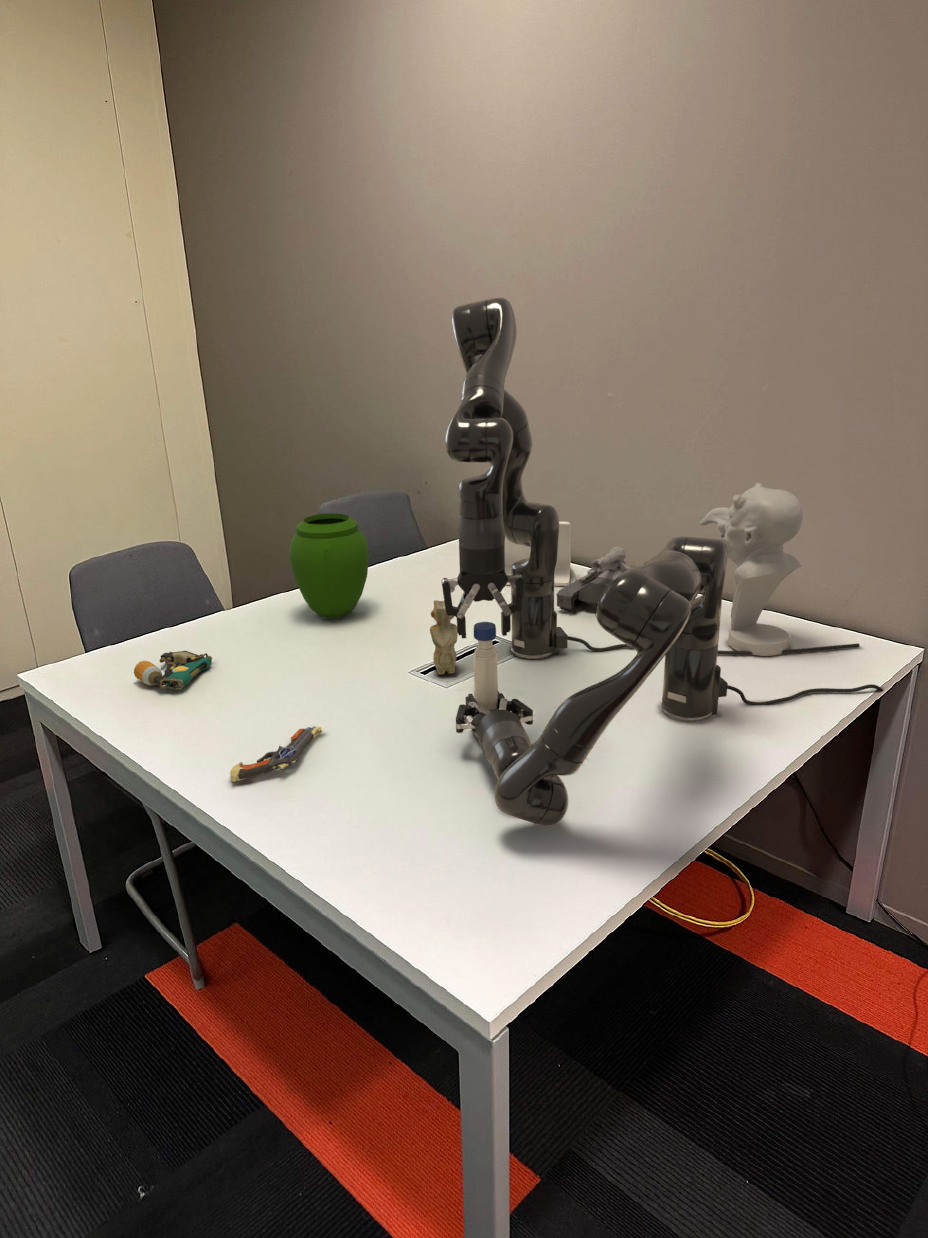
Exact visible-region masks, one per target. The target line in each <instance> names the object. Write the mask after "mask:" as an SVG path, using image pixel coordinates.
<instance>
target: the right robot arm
mask: <svg viewBox="0 0 928 1238" xmlns="http://www.w3.org/2000/svg"><path fill="white" fill-rule="evenodd" d="M727 565H728V557H727V547H726V544H725V543H724V541H722V540H719V538H708V537H706V538H705V537H697V536H675V537H672V538H671V539H669V540H668V541H667V543H666V544H665V545H664V547H662V549H661V551H660V552H659V553H658V554H657V555H655V556H653V557H651V558H650V559H648V560H647V561H646V562H645V563H643V564H642V565H639V566H636V567H634V568H631V569H628V570H627V571H625V572H623V573H622V574H620V575H619V576H618V577H617V578H615V579H614V580H613V581H612V582H611V583H610V585H609V586H608V587H607V588H606V590H605V591H604V593H603V594H602V596H601V598H600V600H599V603H598V605H596V606H597V607H596V615H595V617H596V620H597V623H598V624H599V626H600V627H601V628H602V629H603V630H604V631H605V632H607V633H608V634H610V635H611V636H613V637H614V638H616V639H618V640H619V641H620V642H622V644H627V645H628V646H630V647H631V648H630V649H633V650H634V651H636V655H635V656H634V657H633V659H631V661H630V662H628V664H627V665H626V666H625V667H623V668H622V669H620V670H619V671H618V672H616V673H615V674H613V675H611V676H609V677H607V678H605V679H603V680H601V681H599V682H597V683H595V684H592V685H590V686H587V687H585V688H583V689H581V690H579V691H577V692H574V693H573V694H572V695H570V696H569V697H567V698H566V699H565V700H563V701H562V702H561V704H560V705H559V706H558V707H557V708H556V709H555V711H554V712H553V714H552V715H551V718H550V719H549V720H548V722H547V724H546V726H545V727H544V729H543V730H542V731H541V733H540V735H539V737H538V738H537V740H536V741H535V742H534V743H532V742H531V739H530V737H529V735H528V733H527V731H526V729H525V727H524V726H523V723H524V724H525V725H527V726H532V725H533V724H534V710H533V709H532V708H531V707H530V706H528V705H526V704H525V703H523V702H522V701H521V700H520V699H518V698H511V700H508V698H507V697H505V695H504V693H502V692H500V691H499V690H498V708H497V709H492V710H487V709H485V708H484V707H483V706H482V705H478V704H476V701H475V695H474V693H468V694H467V696H465V699H464V700H465V703H464V704H463V703H462V704H459V705H458V709H457V712H456V716H455V732H456V733H457V734H462V733H464V730H471V732H472V733H474V734H475V735H476V734H477V737H478V738H477V737H476V738H477V740H478V742H479V744H480V746H481V748H482V749H481V750H482V752H483V755H484V756H485V757H486V760H487V761H488V763H489V764H490V765H491V767H492V769H493V772H494V774H495V777H496V778H497V782H496V784H495V787H494V794H493V795H494V796H493V797H494V803H495V805H496V807H497V809H498V810H499V812H501V813H503V814H505V815H507V816H509V817H513V818H515V819H516V818H517V819H519V820H521V821H525V822H528V823H531V824H535V825H537V826H541V827H552V826H555V825H557V824H559V823H560V822H561V821H562V820H563V819H564V818H565V816H566V814H567V812H568V808H569V794H568V790H567V787H566V785H565V783H564V781H563V780H562V779H561V778H560V776H561V777H562V776H567V777H568V776H572V775H574V774H576V773H577V772H578V771H579V769H581V767H582V765H583V764H584V762H585V761H586V759H587V757H588V756H589V754H590V753H591V751H592V750H593V748H594V747H595V745H596V744H597V742H598V741H599V739H600V738H601V736H602V734H604V732H605V730H606V729H607V727H608V726H609V725H610V723H611V722H612V721H613V720H614V718H615V717H616V716H617V715H618V713H619V712H620V711H621V710H622V709H623V708H624V707H625V705H626V704H628V702H629V701H630V700H631V699H632V697H634V695H635V694H636V693H637V691H638V690H639V689H640V688H641V686H642V685H643V684H644V683H645V681H646V680H647V679H649V676H651V674H652V672H653V671H654V670H655V669H656V668H657V667H658V665H659V664H660V663H661V662H662V660H663V659H664V665H663V680H662V682H663V683H662V697H661V706H660V708H661V709H660V710H661V712H662V713H663V714H664V715H665V716H667V717H668V718H671V719H673V720H677V721H681V722H690V723H691V722H702V721H706V720H708V719H710V718H711V717H712V716H717V715H718V709H719V698H723V697H724V698H725V697H728V695H727V694H728V690H730V691H733V692H735V693H736V694H738V695H739V697H740V699H741V700H742V702H743V703H744V704H746V705H749V706H770V705H774V704H778V703H784V702H788V701H792V700H795V699H797V698H799V697H801V696H804V695H806V694H813V693H856V692H860V691H864V690H867V689H875V690H876V691H878V692H884V689H883V688H882V687H880V686H879V685H877V684H874V683H873V684H865V685H862V686H861V685H860V686H858V687H851V688H833V687H832V688H831V687H827V688H826V687H819V688H810V689H803V690H801V691H798V692H797V693H794V694H793V695H789V696H786V697H781V698H776V699H771V700H767V701H751V700H748V699H747V698H746V696H745V694H744V692H743V691H742V690H741V689H739V688H738V687H735V686H732V685H729V684H728V682H727V681H726V680H725V679H724V678H723V677H721V674H722V673H721V672H722V671H721V670H722V668H721V666H720V665H719V664H717V663H718V655H719V654H718V650H719V639H720V630H721V629H720V628H721V627H720V626H721V617H722V616H721V615H722V602H723V593H724V587H725V586H724V585H725V579H726V574H727V573H726V572H727ZM700 592H702V593H703V594H702V595H700V596H698V595H699V593H700ZM697 596H698V597H697ZM467 717H470V718H471V719H472V720H471V721H470V720H469V719H468V718H467Z"/></svg>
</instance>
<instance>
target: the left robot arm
mask: <svg viewBox="0 0 928 1238" xmlns="http://www.w3.org/2000/svg"><path fill="white" fill-rule="evenodd" d="M451 325H452V331H453V336H454V339H455V342H456V346H457V349H458V352H459V355H460V359H461V361H462V364H463V368H464V370H465V373H466V374H465V376H464V379H463V383H462V388H461V397H460V405H459V406H458V408H457V410H456V412H455V413H454V415H453V416H452V418H451V420H450V423H449V424H448V427H447V430H446V432H445V433H446V434H445V439H444V443H445V449H446V452H447V455H448V456H449V458H450V459H452V460H453V462H455V463H460V464H490V467H489V469H488V470H487V471H486V472H484V473H482V474H477V475H474V476H469V477H467V478H464V479H462V480H461V481H460V483H459V485H458V501H459V502H458V504H459V505H458V507H459V508H458V509H459V520H458V521H459V522H458V554H459V557H458V558H459V573H458V576H457V577H456V578H455V577H454V578H447V577H443V578H442V579H441V588H442V594H443V601H444V602H445V609H446V614H447V615H449V616H451V615H452V616H454V618H456V626H457V632H458V636H461V639H467V622H466V621H467V619H466V613H467V611H468V610H469V608H470V607H471V606H472V603H473V602H475V603H476V602H482V601H487V602H490V601H491V602H493V601H494V600H495V602H496V603H497V605H498V607H499V608H500V610H501V612H500V622H501V623H500V631H501V635H502V637H506V636H508V633H510V632H511V643H510V644H511V647H510V651H511V653H512V655H513V656H515V657H518V658H521V659H525V660H526V659H527V660H540V659H545V658H548V657H550V656H552V655H557V654H558V653H557V650H562V649H564V650H565V649H568V645H569V643H568V641H571V642H576V643H580V644H582V645H584V646H585V648H587V649H588V650H590V651H592V652H598V653H599V652H607V651H612V650H615V649H616V650H617V649H627V648H628V649H632V648H631V647H630V646H628V645H627V644H625V643H619V644H614V645H610V646H605V647H595V646H592V645H590V643H589V642H588V641H586V640H584V639H582V638H579V637H574V636H568V634H567V633H566V631H565V630H564V629H563V628H562V627H561V626H558V613H557V612H556V611H555V586H554V572H555V567H556V563H557V555H558V538H559V522H560V520H559V518H560V517H559V514H558V511H557V509H556V508H555V507H554V506H553V505H551V504H547V503H541V502H540V503H539V502H532V501H528V500H527V499H526V498H525V494H524V490H523V484H522V477H523V474H524V471H525V468H526V467H527V464H528V462H529V459H530V457H531V453H532V450H533V438H532V434H531V433H532V432H531V429H530V424H529V420H528V415H527V413H526V410H525V409H524V407H523V406H522V405H521V403H520V402H519V401H518V400H517V399H516V398H515V397H514V396H513V395H512V394H511V393H510V392H509V391H507V390H506V389H505V385H506V384H505V383H506V378H507V374H508V372H509V368H510V365H511V362H512V358H513V354H514V351H515V347H516V343H517V336H518V335H517V333H518V332H517V331H518V330H517V319H516V315H515V312H514V308H513V306H512V304H511V302H510V300H509V299H508V298H506V297H503V296H497V297H491V298H487V299H482V300H481V299H480V300H478V301H473V302H469V303H468V302H467V303H464V304H460V305H458V306H456V307H455V308H454V309H453V311H452V314H451ZM505 537H506V538H507V540H509V541H510V542H511V543H514V544H518V545H523V546H528V547H531V550H530V558H526V559H522V560H519V561H516V562H515V563H513V565H512V567H511V575H507V574H506V573H505ZM507 582H509V583H510V585H509V586H510V588H511V589H510V597H511V599H510V603H508V602H507V601H506V599H505V597H504V596H503V594H502V591H503V589H504V588H505V587H506V586H507V585H506V584H507ZM456 586H458V587H459V588H460V589H461V590H462V591H463V593H462V595H461V598H460V600H459V603H458V604H457V606H455V605H453V599H452V593H454V592H455V590H456ZM853 648H855V649H856V648H860V643H847V644H837V645H828V646H827V645H826V646H825V645H824V646H816V647H805V648H791V649H790V648H789V649H788V650H783V651H782V652H781V653H782V654H781V655H784V654H799V653H810V652H821V651H832V650H842V649H843V650H845V649H853ZM752 654H753V653H752V652H750V651H737V650H719V649H718V654H717V655H725V656H726V655H728V656H729V655H730V656H731V655H732V656H733V655H734V656H749V655H750V656H753V655H752Z"/></svg>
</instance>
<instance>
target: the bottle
mask: <svg viewBox="0 0 928 1238" xmlns="http://www.w3.org/2000/svg"><path fill="white" fill-rule="evenodd" d="M472 659H473V689H474V693H473V695H474V698H475V701H476V704H478V705H482V706H483V707H484V708H485V709H487V710H492V709H497V708H498V691H499V683H498V681H499V680H498V679H499V677H498V675H499V674H498V653H497V651H496V649H495V647H494V644H493V640H490V641H479V640H477V646H476V648H475V649H474V652H473V658H472ZM475 737H476V738H477V739H478V737H477V734H476V733H475Z"/></svg>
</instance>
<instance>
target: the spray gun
mask: <svg viewBox="0 0 928 1238" xmlns="http://www.w3.org/2000/svg"><path fill="white" fill-rule="evenodd" d="M212 660H213V657H212V656H211V655H208V653H207V652H205V653H201V654H197V653H194V652H192V651H191V652H190V651H188V650H180V651H169V652H164V653H162V654H161V655H160V658H159V660H158V662H159V663H161V664H163V663H165V664H166V668H165V670H163V672H164V674H163V673H162V669H160V668H159V666H157V665H156V664H154V663H152V662H151V661H149V660H141V661H139V662H138V663H136V665H135V666H134V668H133V675H134V677H135V678H136V679H137V680H139V681H140V682H142V683H143V684H145V685H147V686H155V685H157V686H158V687H160V688H161V689H171V690H172V689H173V690H182V689H184V687H185V686H186V685H188V684H189V683H190V682H191V681H192V679H193V678H195V677H196V676H197V675H198V674H200V673H201V672H202V671H203V670H206V669H208V668H209V667H210V666H211V665H212V662H213V661H212ZM178 663H179V664H181V665H179V666H176V665H177V664H178Z"/></svg>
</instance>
